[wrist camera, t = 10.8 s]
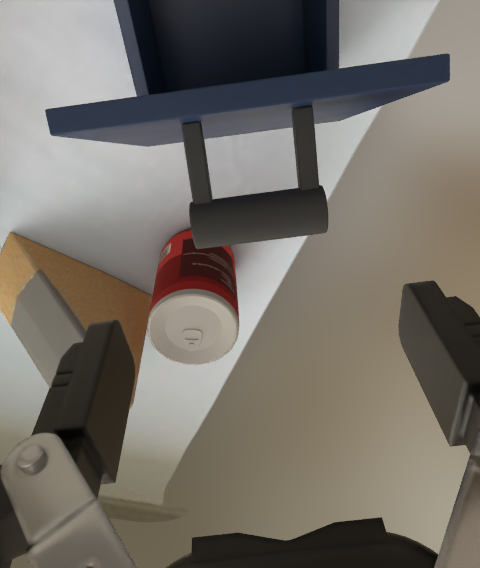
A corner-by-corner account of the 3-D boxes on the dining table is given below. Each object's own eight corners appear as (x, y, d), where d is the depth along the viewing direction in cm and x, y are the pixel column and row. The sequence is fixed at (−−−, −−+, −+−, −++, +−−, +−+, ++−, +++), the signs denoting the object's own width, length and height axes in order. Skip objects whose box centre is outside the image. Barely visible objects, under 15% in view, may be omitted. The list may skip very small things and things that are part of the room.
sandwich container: (9, 228, 43) (-71, 333, 31) (154, 294, 49) (134, 406, 36) (-16, 290, 47) (-96, 404, 35) (120, 344, 53) (92, 460, 40)
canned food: (170, 296, 49) (160, 371, 40) (150, 232, 44) (134, 301, 35) (240, 285, 48) (246, 359, 39) (227, 220, 44) (230, 286, 35)
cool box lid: (43, 109, 14) (82, 275, 16) (450, 52, 14) (450, 228, 15) (144, 133, 29) (159, 217, 31) (339, 107, 29) (345, 193, 30)
